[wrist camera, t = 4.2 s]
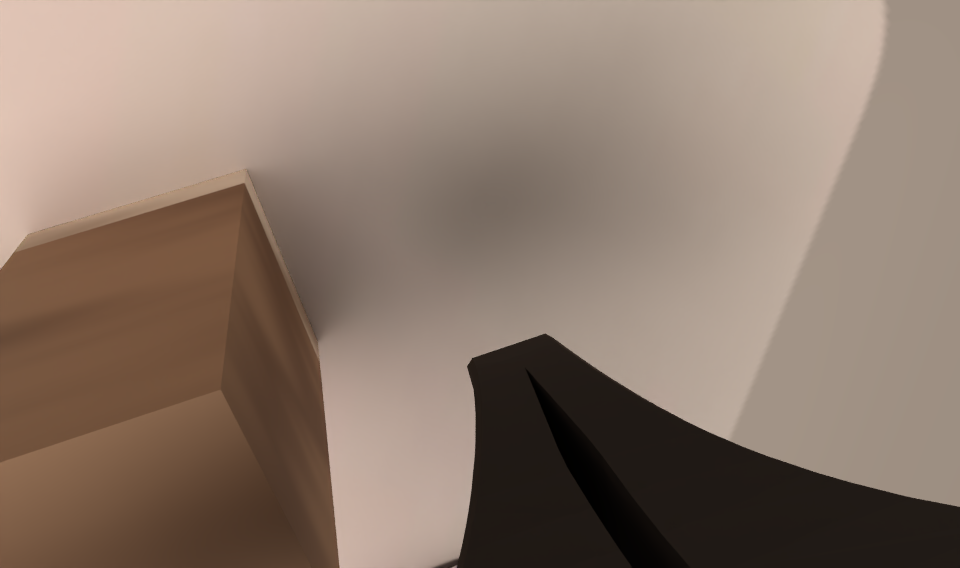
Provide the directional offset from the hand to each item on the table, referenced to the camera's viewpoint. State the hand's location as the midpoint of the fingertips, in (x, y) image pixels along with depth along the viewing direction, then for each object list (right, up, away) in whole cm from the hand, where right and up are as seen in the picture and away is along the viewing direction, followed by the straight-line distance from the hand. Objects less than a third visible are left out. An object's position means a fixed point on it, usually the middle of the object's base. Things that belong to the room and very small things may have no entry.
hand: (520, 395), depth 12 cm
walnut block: (-8, +2, +6) cm, 10 cm away
